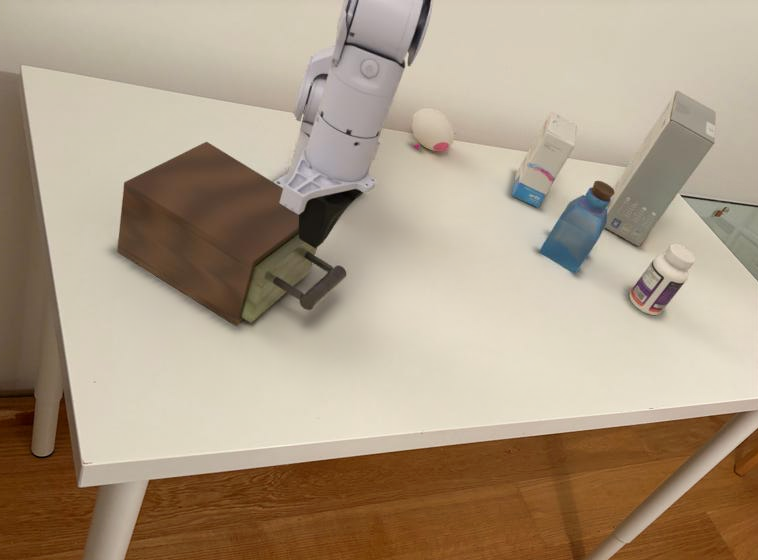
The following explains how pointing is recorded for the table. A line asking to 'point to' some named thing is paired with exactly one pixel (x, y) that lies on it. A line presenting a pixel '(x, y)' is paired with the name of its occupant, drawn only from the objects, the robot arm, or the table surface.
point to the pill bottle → (662, 280)
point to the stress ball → (432, 129)
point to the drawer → (289, 278)
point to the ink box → (544, 159)
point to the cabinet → (204, 226)
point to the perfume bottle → (579, 228)
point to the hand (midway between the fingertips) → (310, 240)
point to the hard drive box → (660, 167)
